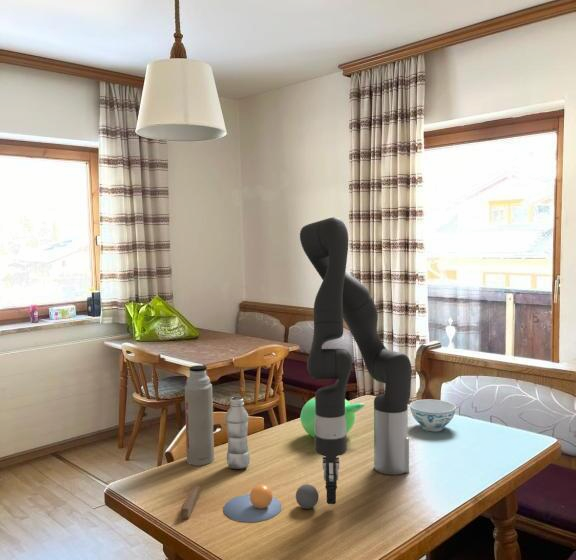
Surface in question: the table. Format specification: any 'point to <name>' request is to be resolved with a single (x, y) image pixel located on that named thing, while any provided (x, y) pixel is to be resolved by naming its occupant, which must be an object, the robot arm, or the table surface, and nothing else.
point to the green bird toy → (309, 413)
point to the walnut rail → (190, 502)
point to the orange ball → (261, 496)
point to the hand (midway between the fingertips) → (331, 502)
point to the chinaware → (432, 413)
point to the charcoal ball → (307, 496)
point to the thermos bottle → (199, 417)
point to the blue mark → (250, 509)
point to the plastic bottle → (237, 434)
